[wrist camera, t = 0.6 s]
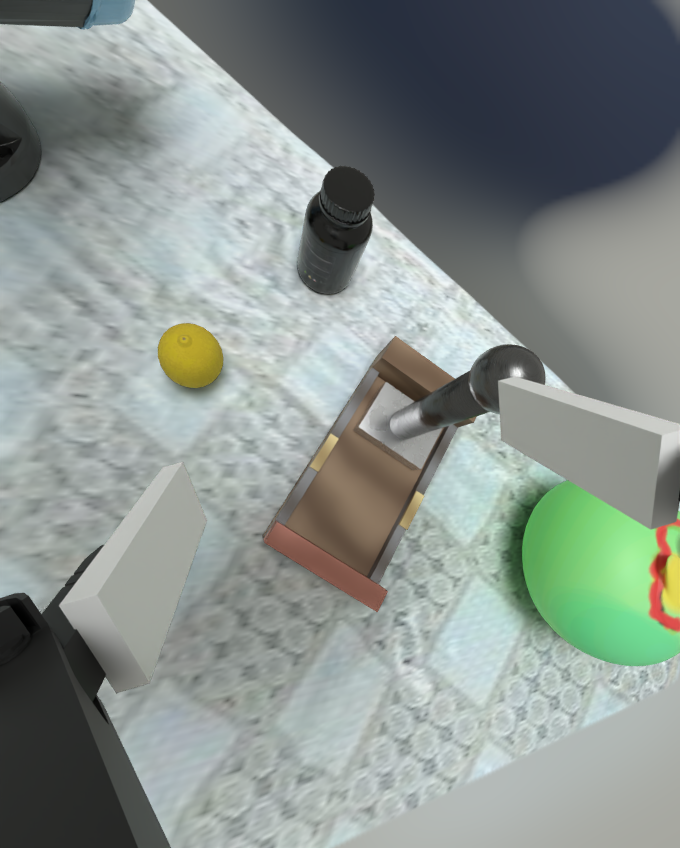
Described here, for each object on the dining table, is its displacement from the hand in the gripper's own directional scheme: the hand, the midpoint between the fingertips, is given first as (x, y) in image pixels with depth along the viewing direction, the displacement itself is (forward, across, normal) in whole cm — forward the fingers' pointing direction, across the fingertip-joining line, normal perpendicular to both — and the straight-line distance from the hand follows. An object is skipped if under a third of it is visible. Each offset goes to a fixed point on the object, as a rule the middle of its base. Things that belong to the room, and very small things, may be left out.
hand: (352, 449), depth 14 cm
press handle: (+22, +8, -9) cm, 25 cm away
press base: (+21, +4, -12) cm, 25 cm away
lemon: (+25, -12, +2) cm, 28 cm away
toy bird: (+18, +24, -29) cm, 41 cm away
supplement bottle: (+33, +5, +9) cm, 34 cm away
